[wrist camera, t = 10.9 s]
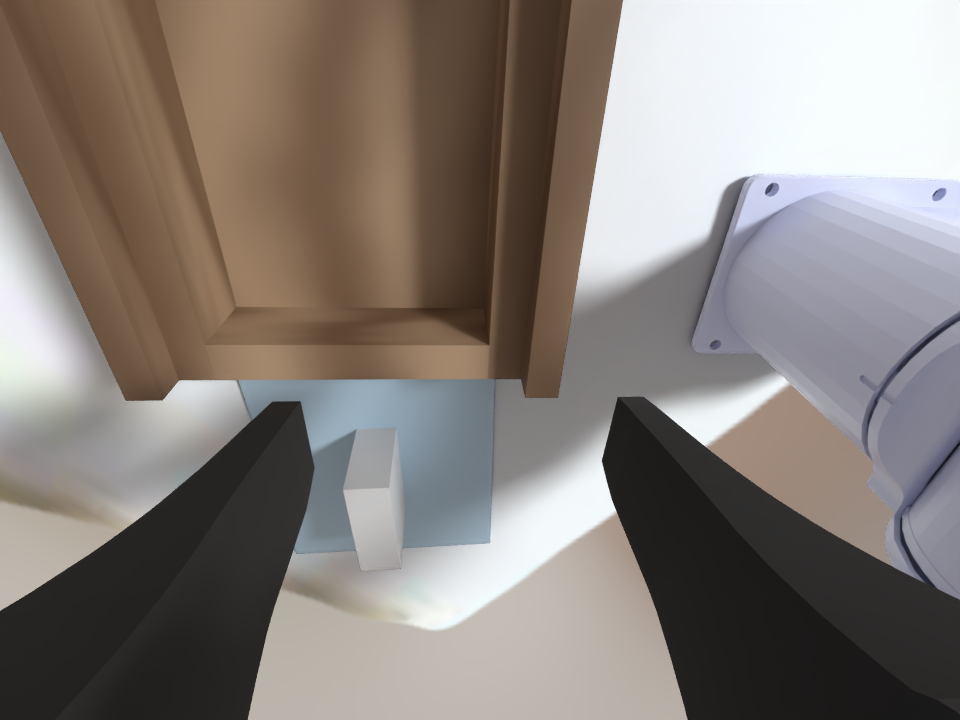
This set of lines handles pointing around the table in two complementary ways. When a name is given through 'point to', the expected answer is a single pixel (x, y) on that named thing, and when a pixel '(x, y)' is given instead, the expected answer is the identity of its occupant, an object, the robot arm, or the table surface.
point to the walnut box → (313, 180)
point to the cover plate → (425, 446)
